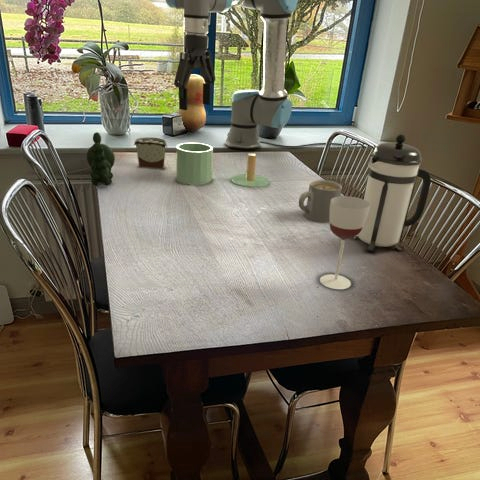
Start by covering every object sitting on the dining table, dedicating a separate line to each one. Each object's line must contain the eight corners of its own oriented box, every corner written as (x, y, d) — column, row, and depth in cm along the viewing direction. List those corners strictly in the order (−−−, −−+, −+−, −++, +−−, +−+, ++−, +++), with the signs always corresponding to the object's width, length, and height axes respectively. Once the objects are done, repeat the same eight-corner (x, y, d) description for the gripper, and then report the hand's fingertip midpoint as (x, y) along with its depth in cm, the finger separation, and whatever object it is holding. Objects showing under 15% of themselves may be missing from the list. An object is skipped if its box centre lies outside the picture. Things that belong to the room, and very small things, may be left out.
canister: (200, 172, 187) (201, 141, 181) (218, 182, 179) (219, 150, 173) (170, 177, 181) (170, 144, 175) (187, 187, 173) (187, 153, 166)
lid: (254, 175, 189) (256, 147, 184) (276, 185, 180) (279, 157, 174) (223, 179, 182) (225, 151, 177) (245, 191, 173) (247, 161, 167)
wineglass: (314, 273, 124) (327, 195, 113) (348, 274, 125) (364, 196, 114) (321, 289, 117) (335, 208, 106) (357, 290, 118) (375, 209, 107)
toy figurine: (116, 196, 166) (115, 167, 185) (112, 139, 154) (111, 114, 173) (87, 196, 164) (89, 167, 183) (80, 138, 152) (83, 113, 171)
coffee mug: (330, 210, 162) (335, 180, 157) (341, 222, 154) (347, 190, 149) (291, 210, 160) (295, 179, 154) (300, 222, 152) (304, 190, 146)
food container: (170, 165, 193) (170, 138, 188) (167, 169, 188) (166, 142, 183) (139, 162, 194) (138, 135, 188) (135, 166, 189) (133, 139, 183)
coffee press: (397, 261, 133) (428, 146, 116) (342, 245, 139) (363, 134, 123) (415, 240, 145) (445, 134, 129) (363, 226, 152) (385, 123, 136)
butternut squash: (188, 135, 235) (189, 77, 221) (172, 129, 243) (171, 73, 229) (211, 132, 243) (213, 76, 229) (195, 127, 251) (195, 72, 237)
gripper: (182, 36, 144) (182, 113, 156) (227, 34, 163) (224, 104, 174) (161, 33, 147) (163, 110, 159) (208, 32, 166) (206, 100, 177)
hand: (195, 107), depth 166 cm, fingers open, 13 cm apart
